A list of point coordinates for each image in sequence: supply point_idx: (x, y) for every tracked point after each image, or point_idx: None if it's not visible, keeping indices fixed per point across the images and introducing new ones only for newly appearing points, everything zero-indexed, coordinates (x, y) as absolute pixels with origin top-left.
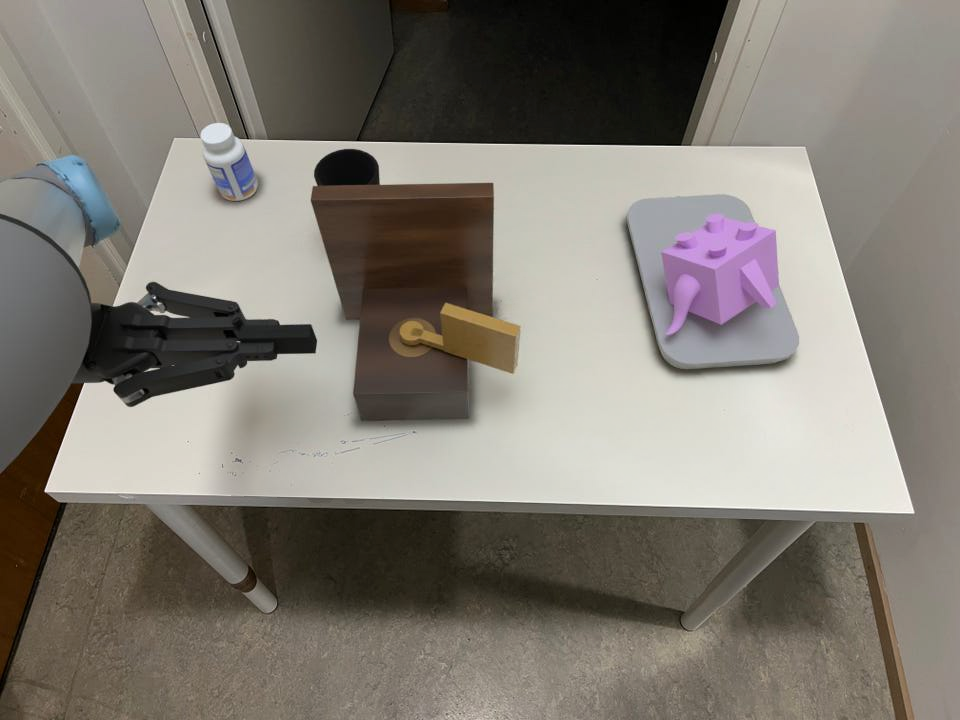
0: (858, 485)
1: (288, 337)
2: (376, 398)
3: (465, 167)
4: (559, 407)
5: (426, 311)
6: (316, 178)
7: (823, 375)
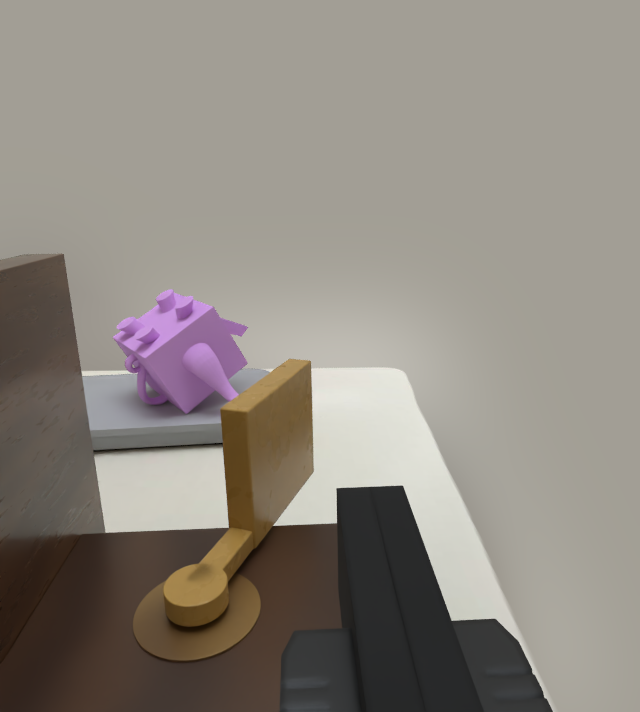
0: (388, 376)
1: (420, 535)
2: None
3: None
4: (321, 515)
5: (122, 591)
6: None
7: None
